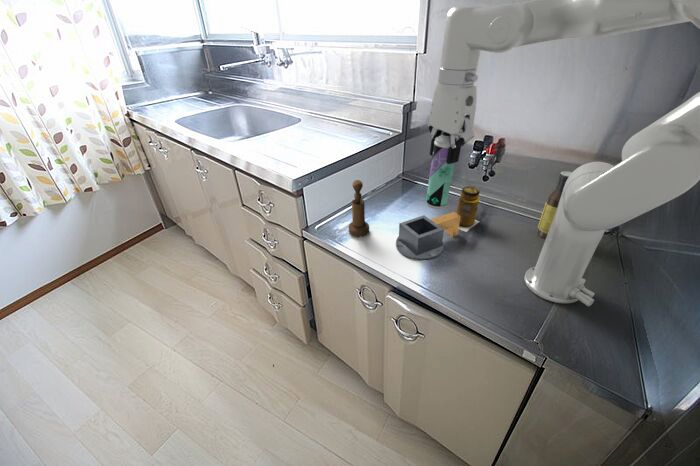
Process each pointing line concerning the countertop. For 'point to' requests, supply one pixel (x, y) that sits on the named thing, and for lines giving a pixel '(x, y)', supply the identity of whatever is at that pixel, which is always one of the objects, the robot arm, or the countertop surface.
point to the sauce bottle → (552, 205)
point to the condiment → (468, 208)
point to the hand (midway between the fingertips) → (443, 157)
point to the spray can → (440, 173)
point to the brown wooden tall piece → (358, 213)
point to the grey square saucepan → (426, 236)
